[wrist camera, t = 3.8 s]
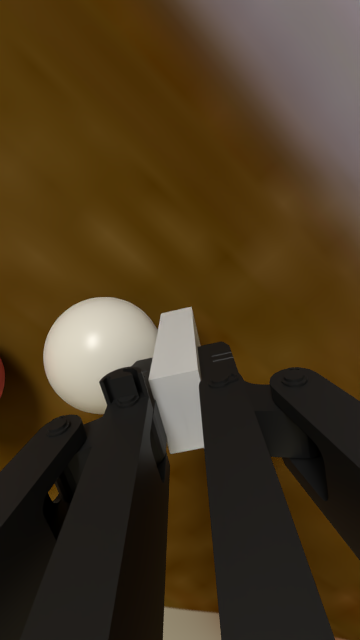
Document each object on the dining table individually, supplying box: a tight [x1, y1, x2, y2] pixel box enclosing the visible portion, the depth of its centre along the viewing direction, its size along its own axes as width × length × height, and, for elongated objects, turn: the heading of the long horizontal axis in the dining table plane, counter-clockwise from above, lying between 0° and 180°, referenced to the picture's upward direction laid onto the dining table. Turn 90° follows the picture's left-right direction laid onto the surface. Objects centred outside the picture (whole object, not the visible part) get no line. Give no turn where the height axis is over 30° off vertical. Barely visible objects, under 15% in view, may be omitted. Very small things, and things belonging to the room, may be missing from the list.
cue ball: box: [43, 297, 158, 414], centre depth 16 cm, size 6×6×6 cm
